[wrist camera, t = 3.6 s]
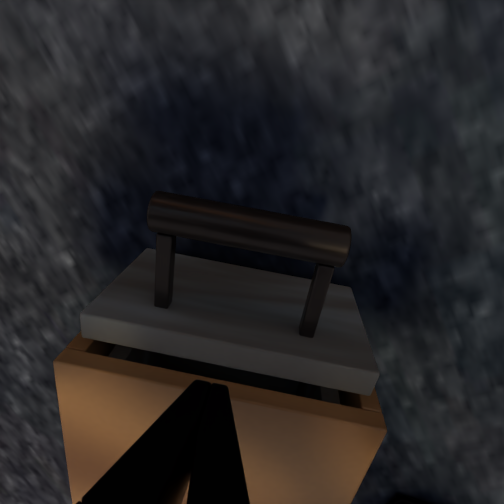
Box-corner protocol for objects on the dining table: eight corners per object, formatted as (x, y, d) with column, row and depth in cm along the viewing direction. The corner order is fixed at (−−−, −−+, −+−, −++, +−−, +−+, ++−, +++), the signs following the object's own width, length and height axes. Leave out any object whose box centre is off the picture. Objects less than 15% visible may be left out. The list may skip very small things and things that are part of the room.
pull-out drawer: (148, 159, 16) (67, 189, 10) (379, 202, 15) (432, 258, 10) (143, 414, 23) (95, 512, 18) (297, 446, 23) (299, 558, 17)
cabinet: (142, 264, 19) (51, 361, 12) (350, 305, 19) (388, 431, 12) (139, 426, 25) (78, 556, 18) (296, 460, 25) (299, 606, 18)
